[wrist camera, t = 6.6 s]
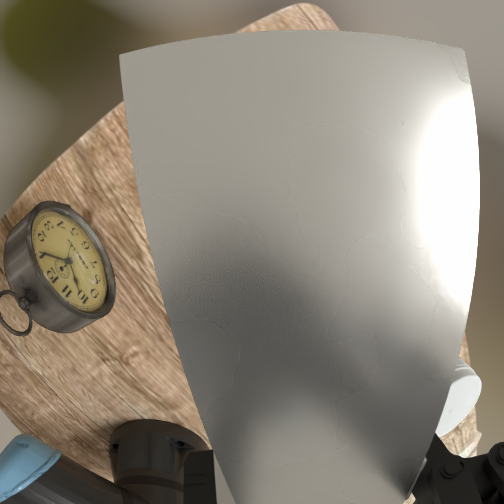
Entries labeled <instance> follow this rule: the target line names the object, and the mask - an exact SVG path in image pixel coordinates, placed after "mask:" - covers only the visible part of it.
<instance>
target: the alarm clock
mask: <svg viewBox="0 0 504 504" xmlns="http://www.w3.org/2000/svg"><path fill="white" fill-rule="evenodd" d="M4 270H5V275H6V278H7V281H8V284H9V287H10V289H11V290H4V291H1V292H0V297H1V296H2V295H4V294H10V295H12V296H14V297H15V299H16V300H17V302H18V304H19V307H20V308H21V309H22V310H24V311H25V312H26V313H27V314H28V317H29V326H28V329H27V330H26V331H24V332H19V331H16V330H14V329H12V328H11V327H10V326H9V325H8V324H7V323H6V322H5V321H4V320H3V318H2V316H1V313H0V322H1V324H2V325H3V326H4V328H6V329H7V330H8V331H9V332H10V333H12V334H14V335H16V336H26V335H28V334H29V333H30V331H31V329H32V319H33V320H34V321H35V322H37V323H38V324H39V325H41V326H43V327H44V328H46V329H48V330H51V331H54V332H58V333H73V332H76V331H79V330H81V329H82V328H84V327H86V326H88V325H89V324H91V323H93V322H95V321H96V320H98V319H100V318H102V317H104V316H105V315H107V314H108V313H109V312H110V311H111V309H112V307H113V305H114V302H115V296H116V283H115V275H114V272H113V268H112V265H111V262H110V260H109V257H108V255H107V252H106V250H105V248H104V246H103V244H102V243H101V241H100V239H99V238H98V236H97V235H96V233H95V232H94V230H93V229H92V228H91V226H90V225H89V224H88V223H87V222H86V221H85V220H84V219H83V218H82V217H81V216H80V215H79V214H78V213H77V212H75V211H74V210H73V209H71V206H70V205H65V204H62V203H60V202H55V201H45V202H42V203H40V204H38V205H36V206H35V207H34V208H33V210H32V211H31V212H30V213H28V214H27V215H26V216H25V217H24V218H23V219H22V220H21V221H20V222H19V223H18V224H17V225H16V226H15V227H14V228H13V229H12V230H11V231H10V233H9V235H8V237H7V239H6V243H5V247H4Z"/></svg>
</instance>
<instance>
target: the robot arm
mask: <svg viewBox="0 0 504 504" xmlns="http://www.w3.org/2000/svg"><path fill="white" fill-rule="evenodd" d="M109 457H110V463H111V469H112V474H113V479H114V483H113V482H111V481H109V480H107V479H105V478H103V477H101V476H99V475H97V474H96V473H94V472H92V471H90V470H88V469H87V468H85V467H83V466H81V465H80V464H78V463H76V462H75V461H73V460H71V459H70V458H68V457H66V456H65V455H63V454H62V453H61V451H60V450H58V449H54V448H52V447H50V446H49V445H47V444H45V443H44V442H42V441H41V440H39V439H38V438H36V437H34V436H32V435H30V434H21V435H18V436H16V437H15V438H14V439H13V440H12V441H11V442H10V443H9V444H8V445H7V447H6V448H5V449H4V450H3V452H2V453H1V454H0V504H236V503H235V501H234V498H233V496H232V494H231V492H230V489H229V487H228V485H227V483H226V480H225V478H224V476H223V473H222V471H221V468H220V466H219V464H218V461H217V459H216V456H215V454H214V451H213V450H209V448H208V446H207V444H206V443H205V442H204V440H203V439H202V438H200V437H199V436H198V435H197V434H195V433H194V432H192V431H190V430H188V429H186V428H184V427H182V426H179V425H176V424H172V423H169V422H164V421H157V420H137V421H132V422H128V423H125V424H123V425H121V426H119V427H118V428H117V429H116V430H115V431H114V432H113V434H112V436H111V440H110V444H109ZM411 492H412V493H413V495H414V497H415V499H416V500H415V501H414V503H413V504H504V442H500V443H498V444H495V445H494V446H493V447H492V448H491V449H490V451H489V453H487V454H483V455H479V456H475V457H471V458H462V457H460V456H458V455H453V454H452V453H450V452H449V450H448V449H447V448H446V447H445V445H444V444H443V442H442V441H441V440H440V438H439V437H438V435H437V434H436V433H435V434H434V437H433V439H432V442H431V444H430V447H429V449H428V452H427V454H426V456H425V459H424V461H423V463H422V466H421V468H420V470H419V472H418V474H417V476H416V479H415V481H414V483H413V485H412V487H411V489H410V491H409V493H408V495H407V497H406V499H408V498H409V496H410V494H411ZM406 499H405V500H406Z"/></svg>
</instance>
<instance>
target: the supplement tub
mask: <svg viewBox="0 0 504 504" xmlns="http://www.w3.org/2000/svg"><path fill="white" fill-rule="evenodd" d="M480 391H481V380H480V378H479V377H478V376H477V375H476V374H475V372H474V371H473V369H472V368H470V366H469V365H467V364H466V363H465V362H464V361H463V360H462V359H461V358H460V357H459V358H458V362H457V366H456V369H455V373H454V377H453V380H452V384H451V387H450V390H449V394H448V397H447V400H446V403H445V406H444V409H443V412H442V415H441V418H440V421H439V423H438V426H437V429H436V431H435V433H436V434H437V435H438V437H439V438H440V437H441V436H443V435H445V434H446V433H448V432H449V431H451V430H452V429H453V428H454V427H456V426H457V425H458V424H459V423H460V422H461V421H462V420H463V419H464V418H465V417H466V416H467V415H468V413H469V412H470V411H471V409H472V408H473V406H474V405H475V403H476V401H477V399H478V397H479V395H480Z"/></svg>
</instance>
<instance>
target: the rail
mask: <svg viewBox="0 0 504 504" xmlns="http://www.w3.org/2000/svg"><path fill="white" fill-rule="evenodd" d="M119 58H120V68H121V79H122V88H123V97H124V105H125V113H126V121H127V128H128V135H129V141H130V148H131V154H132V160H133V166H134V171H135V177H136V183H137V188H138V193H139V198H140V203H141V208H142V213H143V218H144V223H145V227H146V232H147V236H148V241H149V245H150V249H151V254H152V258H153V262H154V266H155V270H156V274H157V278H158V282H159V286H160V290H161V293H162V297H163V301H164V305H165V308H166V312H167V315H168V319H169V322H170V326H171V329H172V333H173V336H174V339H175V343H176V346H177V349H178V352H179V356H180V359H181V362H182V365H183V368H184V371H185V374H186V377H187V380H188V383H189V386H190V389H191V392H192V395H193V398H194V401H195V403H196V406H197V409H198V412H199V415H200V417H201V420H202V423H203V425H204V428H205V431H206V433H207V436H208V439H209V441H210V444H211V446H212V449H213V451H214V454H215V456H216V459H217V461H218V464H219V466H220V468H221V471H222V473H223V476H224V478H225V480H226V483H227V485H228V487H229V489H230V492H231V494H232V496H233V498H234V501H235V503H236V504H403V503H404V501H405V499H406V497H407V495H408V493H409V491H410V489H411V487H412V485H413V483H414V481H415V479H416V476H417V474H418V472H419V470H420V468H421V466H422V463H423V461H424V459H425V456H426V454H427V452H428V449H429V447H430V444H431V442H432V439H433V437H434V434H435V431H436V429H437V426H438V423H439V421H440V418H441V415H442V412H443V409H444V406H445V403H446V400H447V397H448V394H449V390H450V387H451V384H452V380H453V377H454V373H455V369H456V366H457V362H458V358H459V354H460V350H461V345H462V341H463V336H464V332H465V326H466V322H467V316H468V310H469V304H470V299H471V292H472V286H473V278H474V269H475V261H476V250H477V238H478V219H479V162H478V143H477V130H476V120H475V112H474V104H473V96H472V90H471V83H470V78H469V72H468V68H467V62H466V57H465V52H464V50H463V49H460V48H456V47H452V46H447V45H443V44H438V43H433V42H428V41H423V40H417V39H411V38H405V37H398V36H389V35H382V34H372V33H362V32H349V31H330V30H279V31H259V32H246V33H235V34H226V35H218V36H210V37H202V38H196V39H190V40H184V41H178V42H173V43H168V44H163V45H158V46H154V47H149V48H144V49H140V50H136V51H132V52H129V53H125V54H121V55H119Z"/></svg>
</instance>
